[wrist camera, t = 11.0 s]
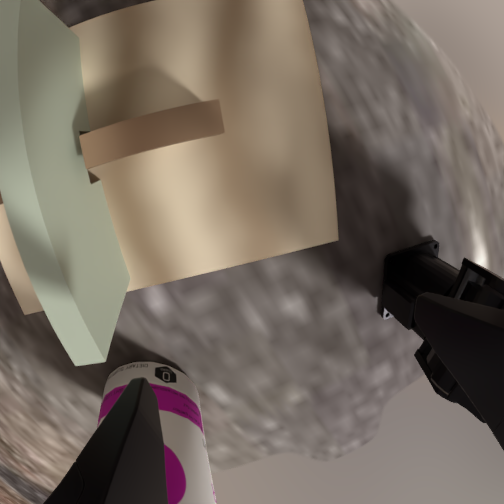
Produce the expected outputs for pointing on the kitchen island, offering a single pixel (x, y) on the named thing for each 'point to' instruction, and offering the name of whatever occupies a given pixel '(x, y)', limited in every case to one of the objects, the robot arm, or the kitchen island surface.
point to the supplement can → (172, 428)
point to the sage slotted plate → (56, 182)
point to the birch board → (210, 148)
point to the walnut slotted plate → (151, 132)
